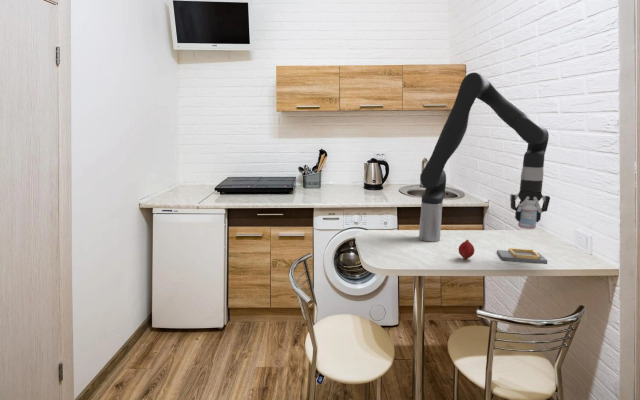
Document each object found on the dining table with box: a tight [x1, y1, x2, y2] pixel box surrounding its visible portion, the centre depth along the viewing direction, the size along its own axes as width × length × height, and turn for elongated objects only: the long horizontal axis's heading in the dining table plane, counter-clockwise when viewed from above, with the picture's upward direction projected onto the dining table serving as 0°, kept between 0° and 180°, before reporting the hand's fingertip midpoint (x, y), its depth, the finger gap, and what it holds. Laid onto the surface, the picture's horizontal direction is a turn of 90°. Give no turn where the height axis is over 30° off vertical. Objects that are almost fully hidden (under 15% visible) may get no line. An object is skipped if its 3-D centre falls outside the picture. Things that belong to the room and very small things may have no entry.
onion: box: [458, 239, 475, 260], centre depth 156 cm, size 6×6×8 cm
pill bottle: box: [517, 200, 537, 230], centre depth 156 cm, size 6×6×11 cm
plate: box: [496, 247, 548, 264], centre depth 159 cm, size 16×10×2 cm, turn 79°
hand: (527, 221), depth 156 cm, fingers closed on pill bottle, 6 cm apart
